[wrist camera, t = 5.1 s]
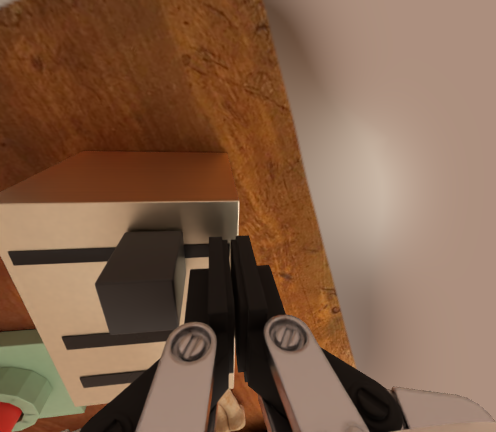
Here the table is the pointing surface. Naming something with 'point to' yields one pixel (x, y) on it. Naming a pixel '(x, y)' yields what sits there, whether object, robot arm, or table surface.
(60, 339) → the toaster
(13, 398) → the block
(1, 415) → the red button
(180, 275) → the block
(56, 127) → the table surface
